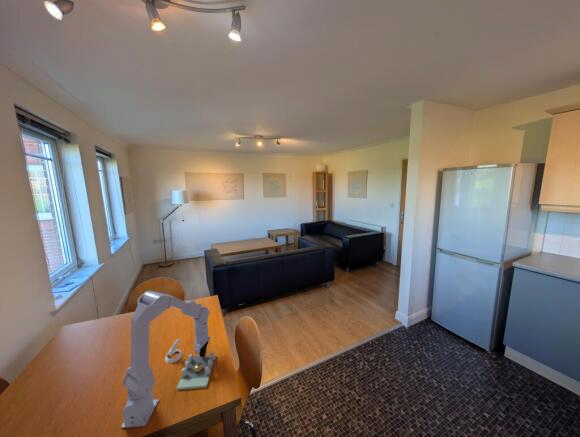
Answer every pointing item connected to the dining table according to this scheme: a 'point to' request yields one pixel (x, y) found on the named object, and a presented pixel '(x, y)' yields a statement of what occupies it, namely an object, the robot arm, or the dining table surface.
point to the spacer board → (200, 379)
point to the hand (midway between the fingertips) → (202, 356)
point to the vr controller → (173, 353)
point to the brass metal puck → (197, 368)
